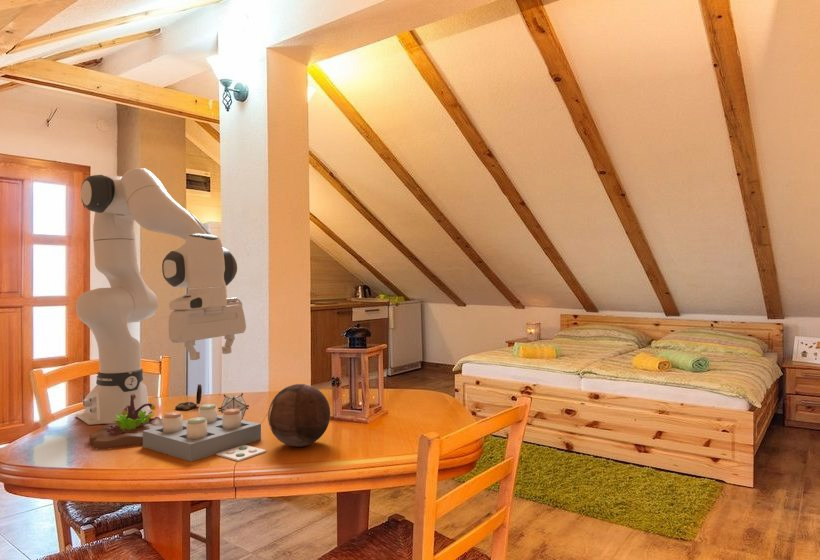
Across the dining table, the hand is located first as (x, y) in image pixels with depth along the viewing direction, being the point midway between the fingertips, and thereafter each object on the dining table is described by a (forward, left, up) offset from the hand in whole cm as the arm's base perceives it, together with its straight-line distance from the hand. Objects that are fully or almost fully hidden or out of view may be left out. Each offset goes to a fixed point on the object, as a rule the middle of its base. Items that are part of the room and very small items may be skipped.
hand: (211, 356), depth 135 cm
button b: (-11, +6, -20) cm, 24 cm away
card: (+9, +1, -22) cm, 24 cm away
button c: (-1, -4, -20) cm, 21 cm away
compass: (-42, +21, -23) cm, 52 cm away
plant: (-27, -5, -23) cm, 36 cm away
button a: (-11, -4, -20) cm, 23 cm away
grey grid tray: (-6, +1, -22) cm, 23 cm away
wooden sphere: (+16, +13, -23) cm, 31 cm away
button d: (-1, +6, -20) cm, 21 cm away
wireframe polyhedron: (-16, +18, -23) cm, 33 cm away
